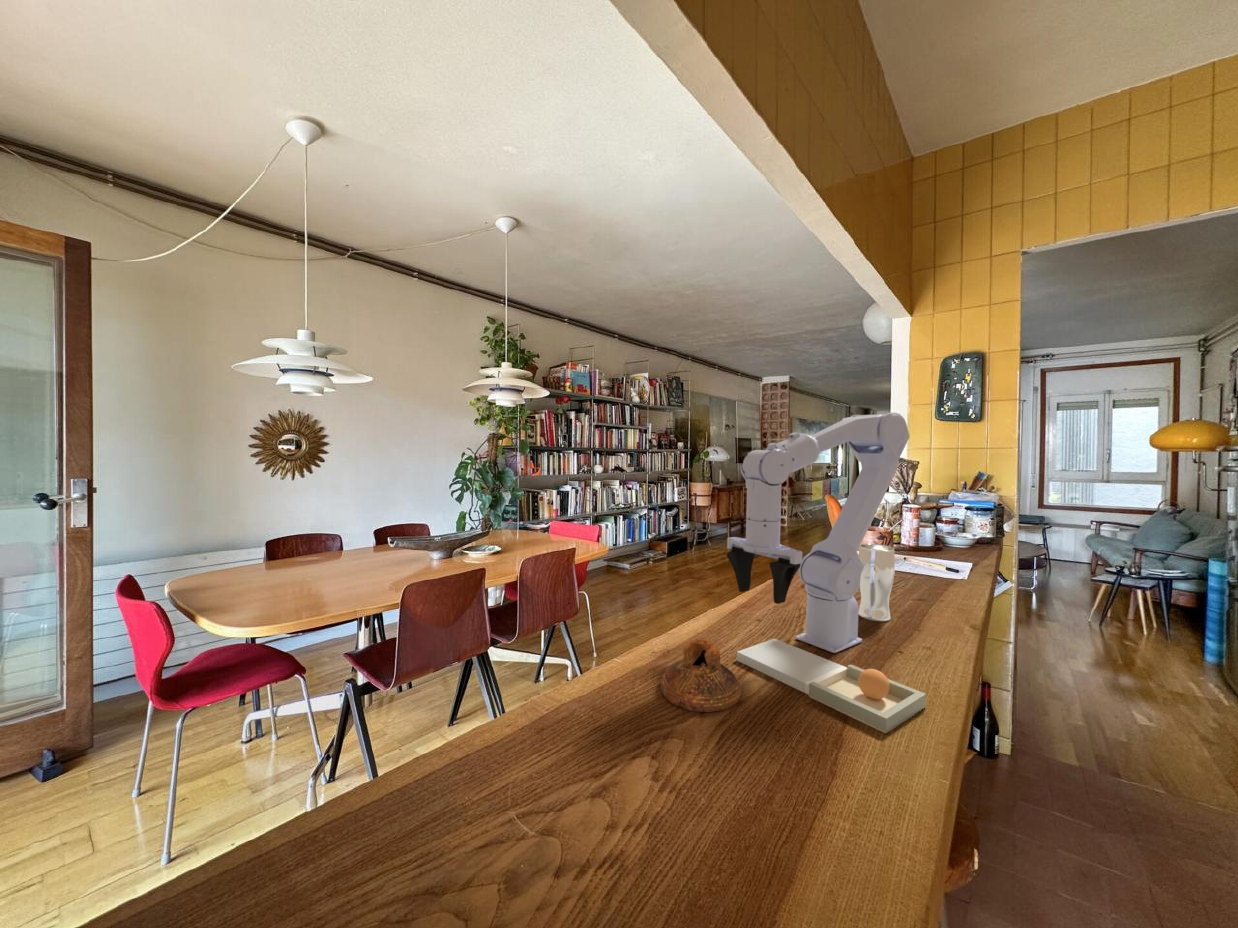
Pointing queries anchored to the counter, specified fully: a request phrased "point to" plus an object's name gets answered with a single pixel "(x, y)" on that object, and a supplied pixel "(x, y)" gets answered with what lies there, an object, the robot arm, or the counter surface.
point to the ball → (873, 684)
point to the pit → (870, 701)
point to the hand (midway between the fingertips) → (761, 596)
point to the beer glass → (876, 581)
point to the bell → (700, 680)
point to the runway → (791, 664)
